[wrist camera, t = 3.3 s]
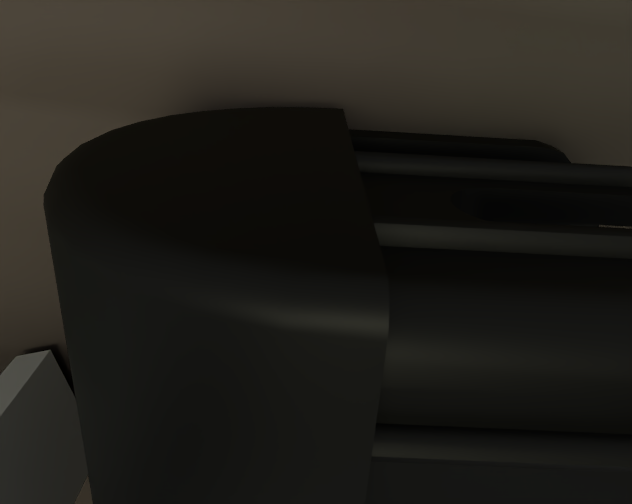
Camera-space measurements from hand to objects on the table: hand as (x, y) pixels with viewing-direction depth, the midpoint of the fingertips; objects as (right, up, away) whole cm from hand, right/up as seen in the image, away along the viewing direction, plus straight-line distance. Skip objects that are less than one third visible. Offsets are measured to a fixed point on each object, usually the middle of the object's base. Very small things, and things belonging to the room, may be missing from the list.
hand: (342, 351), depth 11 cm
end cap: (0, 0, 0) cm, 1 cm away
